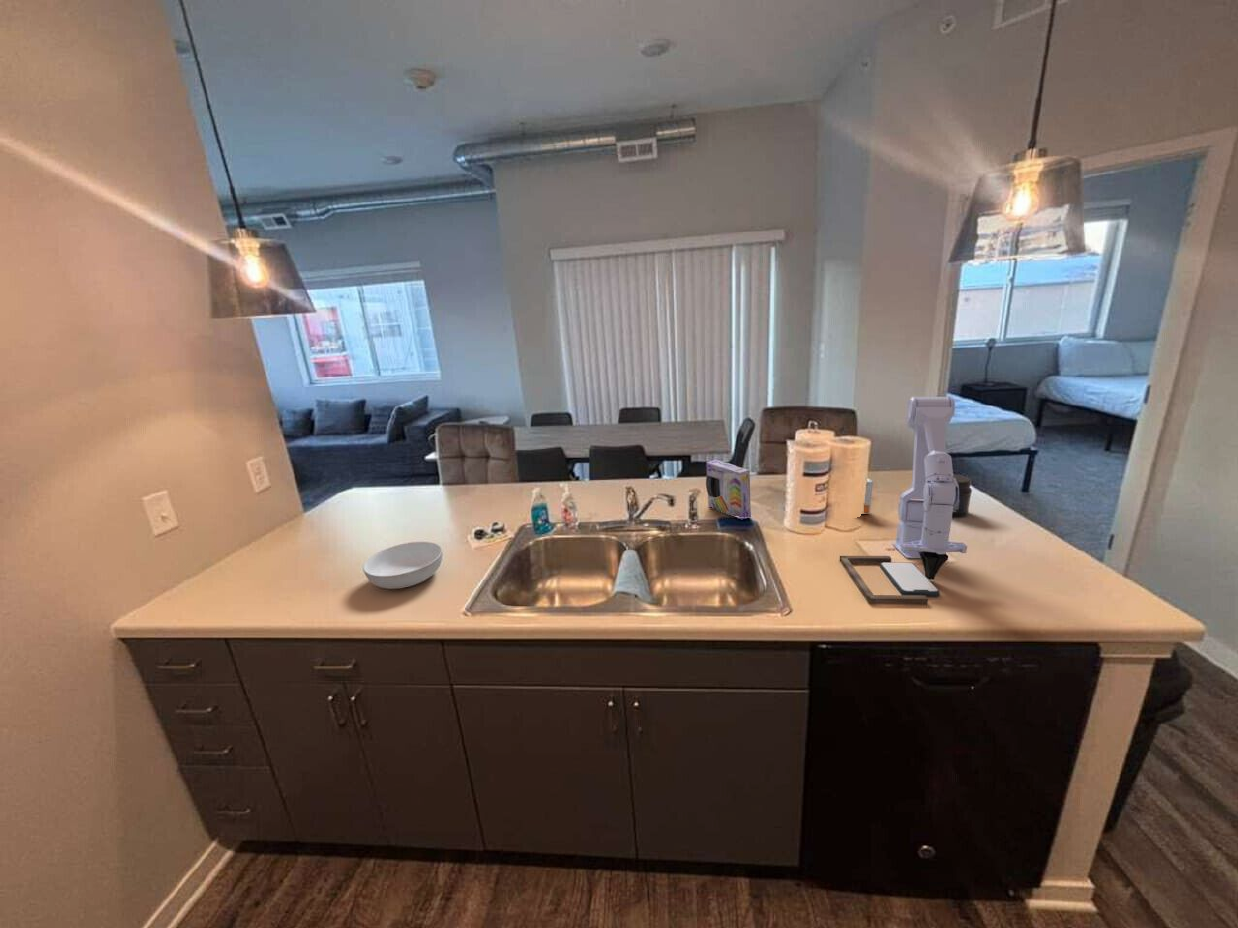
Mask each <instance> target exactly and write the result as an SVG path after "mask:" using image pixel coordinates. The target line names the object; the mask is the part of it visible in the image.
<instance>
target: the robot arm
mask: <svg viewBox="0 0 1238 928" xmlns="http://www.w3.org/2000/svg"><path fill="white" fill-rule="evenodd" d="M955 407H956V403H955V400H954V398H953V397H952V395H951V396H911V397H910V398H909V400H908V401H907V407H906V408H907V409H906V423H907V424H906V426H907V427H908V428H910V429H912V430H913V435H914V437H913V438H914V439H913V440H914V441H913V459H912V460H913V461H912V476H911V477H912V479H911V480H912V482H911V487H910V488H909V489H907V490H905V491H904V492H902V493H901V494H900V495H899V502H898V508H897V513H898V514H897V515H898V519H899V521H898V523H897V531H896V537H895V538H896V539H895V541H893V542H892V546H894V547H895V548H896V549H897V550H898V552H900V554H901V555H902V556H904V557H905V558H906V559H921V562H922V565H923V570H924V575H925V576H926V577H927V578H928V579H929V580H930V581H931V580H935V578H936V576H937V574H938V572H939V570H940V569H941V567H943V565H944V564H945V563H946V562H947V561H948V560H949V555H948V554H946V553H961V554H967V552H968V551H967V550H968V546H967V544H965V543H964V542H955V541H949V539H950V532H951V526H952V525H951V524H952V518H953V517H952V512H953V506H952V505H954V506H955V505H957V503H958V500H959V486H958V483H957V482H956V478H953V474H954V471H953V461H952V459H953V458H952V456H951V455H950V454H948V453H947V452H946V431H947V430H946V429H947V427H946V426H947V425H950V422H951V420H952V419H953V417H954V416H955V410H956V409H955Z"/></svg>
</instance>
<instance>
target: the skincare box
mask: <svg viewBox="0 0 1238 928" xmlns="http://www.w3.org/2000/svg"><path fill="white" fill-rule="evenodd" d="M873 484H874V481H872V480H871V479H870V478H868V477H867V484H866V494H865V503H864V513H865V514H869V515H870V514H871V513H870V511H871V503H872V496H873V495H872V494H873Z"/></svg>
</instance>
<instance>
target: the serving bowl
mask: <svg viewBox="0 0 1238 928" xmlns="http://www.w3.org/2000/svg"><path fill="white" fill-rule="evenodd" d="M442 561H443V548H442V546H441V545H440V544H438V543H435V542H431V541H411V542H406V543H401V544H397V545H393V546H390V547H387V548H385V549H382V550H380V551H379V552H376V553H374V554H373V555H371V556H370V557H369V558H368V559H367V560H365V562H364V564H363V566H362V571H363V574H364V575H365V576H366V577H365V578H367V580H368V581H369V582H370V583H371V584H373V585H375V586H377V587H379V588H382V589H390V590H391V589H393V590H397V589H404V588H407V587H412V586H415V585H418V584H420V583H422V582H424V581H426V580H427V579H429V578H430V577H432V576H433V575H434V574H436V572H437V571H438V570H439V568H440V566H441V564H442Z"/></svg>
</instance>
